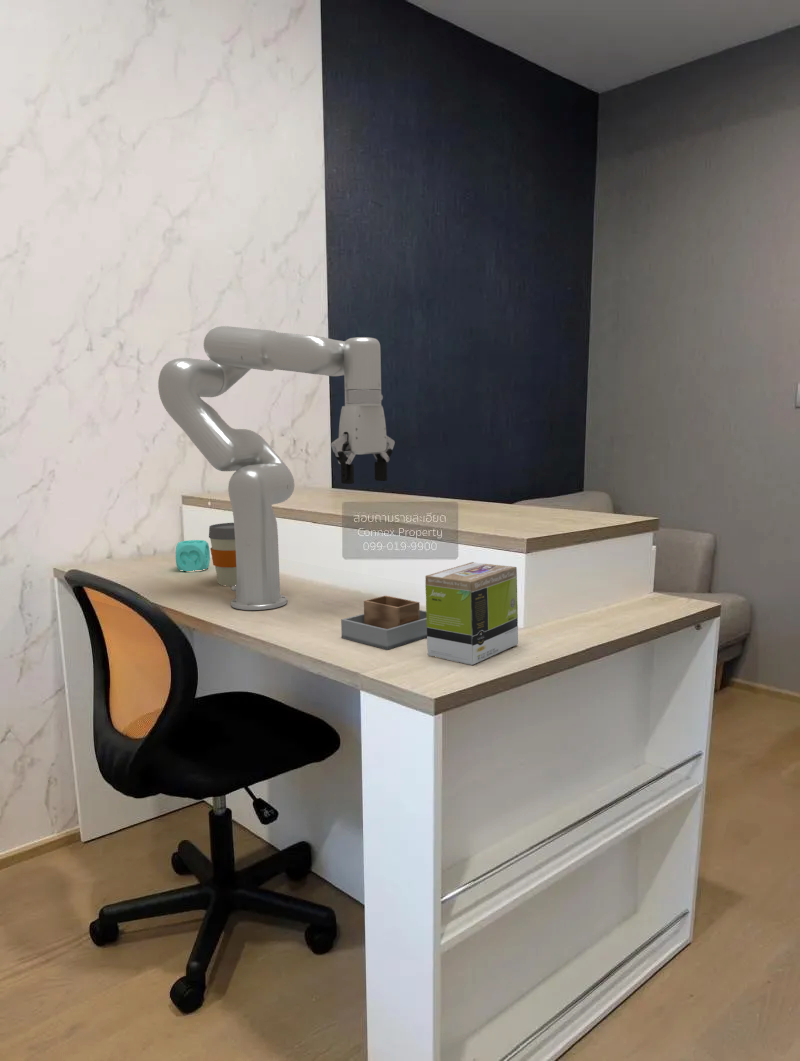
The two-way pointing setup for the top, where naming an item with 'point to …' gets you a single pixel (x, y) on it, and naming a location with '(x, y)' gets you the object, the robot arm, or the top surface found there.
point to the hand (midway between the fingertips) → (364, 482)
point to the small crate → (390, 612)
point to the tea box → (471, 612)
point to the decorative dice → (192, 555)
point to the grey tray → (383, 632)
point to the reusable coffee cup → (224, 552)
